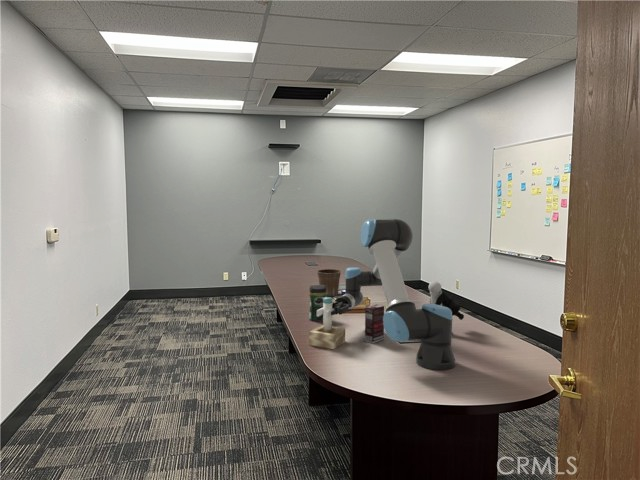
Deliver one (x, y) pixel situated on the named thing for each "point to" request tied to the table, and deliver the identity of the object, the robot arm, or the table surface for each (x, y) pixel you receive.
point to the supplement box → (374, 323)
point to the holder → (327, 337)
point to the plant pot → (329, 280)
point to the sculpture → (443, 299)
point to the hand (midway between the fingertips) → (322, 314)
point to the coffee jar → (316, 300)
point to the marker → (326, 306)
